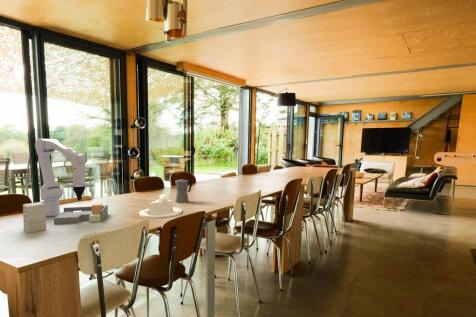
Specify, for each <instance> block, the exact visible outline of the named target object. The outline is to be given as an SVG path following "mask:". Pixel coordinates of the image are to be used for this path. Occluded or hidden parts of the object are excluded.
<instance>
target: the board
mask: <svg viewBox="0 0 476 317" xmlns="http://www.w3.org/2000/svg"><path fill="white" fill-rule="evenodd" d="M108 206H109V204H105V205H102V210H101V211H100V213H97V214H92V205H91V206H74V207H73V206H71V207H63V211H61V212H62V213H61V214H59V215H58V216H54V217H53V225H62V224H77V223H80V222H81V221H88V222H89V223H93V222H95V223H96V222H103V221H104V219H105V218H106V217H107V216H108V214H109V211H108V210H109V207H108Z"/></svg>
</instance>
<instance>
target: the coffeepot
mask: <svg viewBox="0 0 476 317" xmlns="http://www.w3.org/2000/svg"><path fill="white" fill-rule="evenodd" d="M174 182H175V189H176V196H175V203H176V202H177V203H176V204H185V203H184V202H187V203H188V202H189V196H188V193H190V192H191V189H192V187H193V186H192V185H193V182H192V181H191V180H188V179H184V176H180V179H177V180H176V179H175V180H174Z"/></svg>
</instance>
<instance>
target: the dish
mask: <svg viewBox="0 0 476 317" xmlns="http://www.w3.org/2000/svg"><path fill="white" fill-rule="evenodd" d="M158 197H159V198H158V199H157V200H155V201H152V202H150V203H148V208H145V209H141V210H140V211H138V213H139V214H138V215H139V217H142V218H146V219H164V218H165V217H166V218H172V216H173V217H176V215H177V216H179V215H181V214H183V209H182V208H179V207H175V206H174V200H170V199H169V198H170V194H165V193H162V194H159V195H158ZM166 218H165V219H166Z"/></svg>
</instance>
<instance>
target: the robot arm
mask: <svg viewBox="0 0 476 317" xmlns="http://www.w3.org/2000/svg"><path fill="white" fill-rule="evenodd" d="M34 148H35V151H36V154H37V157H38V162H39V166H40V170H41V175H42V181H43V185H41V186H40V198H41V200H40V201H39V202H41V203H44V204H45V209H46V217H53V216H54V217H56V216H58V215H59V214H61V213H62V212H63V211H61V210H60V199H61V197H62V196H63V193H64V192H63V189H62V187H61V184H60V183H58V182H56V179H55V175H54V170H53V166H52V161H51V159H50V156H51V155H52V154H54V152H55V151H57V152H59V153H61V155H62V156H63V157H64V158H65V159H67V160H69V162H70V164H71V168H72V181H73V182H72V183H65V184H63V188H64V189H67V188H71V189H72V190H73V192H74V194H75V196H76V199H77V201H78V202H79V201H80V202H81V201H82V199H83V194H84V192H85V190H86V188H94V187H95V183H93V182H92V183H91V182H89V183H88V182H87V183H86V167H85V166H86V165H85V164H87V162H88V156H87V155H86V154H85V153H80V152H79V151H76V150H74V148H73V147H65V146H64V145H63V144H61V143H60V142H59V140H58V139H56V138H37V139H36V141H35V143H34Z"/></svg>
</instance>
